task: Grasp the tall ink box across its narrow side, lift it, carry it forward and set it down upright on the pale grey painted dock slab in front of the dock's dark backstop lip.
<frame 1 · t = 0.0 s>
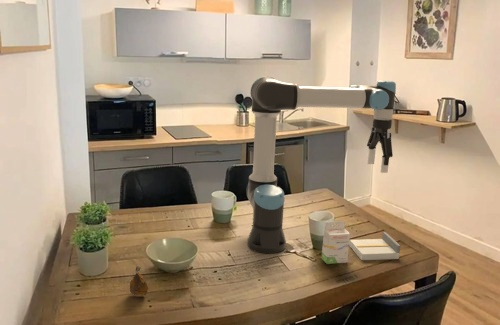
hand: (377, 168, 200), 28 cm above the table, fingers open, 13 cm apart
ink box: (334, 261, 176), on the table
brown pointed lump: (136, 295, 148), on the table
dock: (373, 252, 185), on the table
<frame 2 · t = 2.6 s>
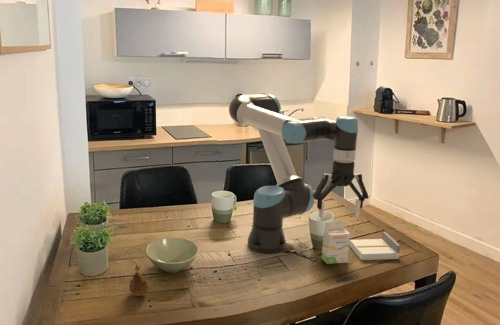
hand: (339, 217, 171), 17 cm above the table, fingers open, 13 cm apart
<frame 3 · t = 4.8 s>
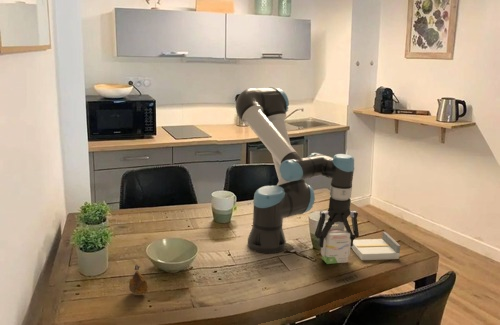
hand: (334, 254, 175), 2 cm above the table, fingers closed on ink box, 9 cm apart
ink box: (334, 261, 176), on the table, touching gripper
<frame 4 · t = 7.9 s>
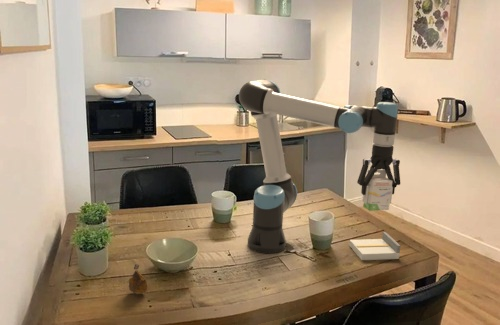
hand: (376, 202, 179), 21 cm above the table, fingers closed on ink box, 9 cm apart
ink box: (376, 209, 180), point 18 cm above the table, touching gripper
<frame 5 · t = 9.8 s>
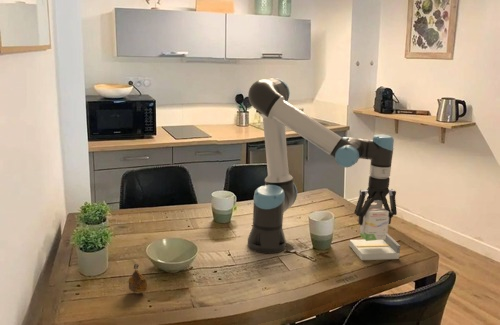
hand: (373, 231, 182), 9 cm above the table, fingers closed on ink box, 9 cm apart
ink box: (373, 238, 183), point 6 cm above the table, touching gripper
when the fingers open (6 cm above the table, at t = 11.3 s): ink box stays where it is, resting on dock.
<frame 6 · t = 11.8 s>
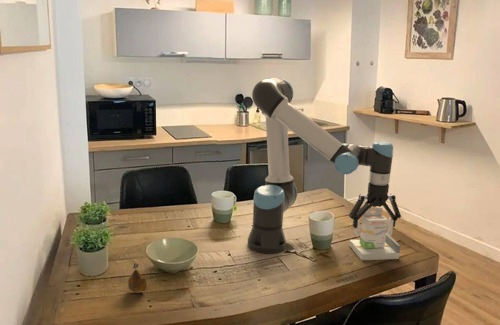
hand: (372, 235, 183), 7 cm above the table, fingers open, 13 cm apart
ink box: (371, 246, 184), point 3 cm above the table, touching dock
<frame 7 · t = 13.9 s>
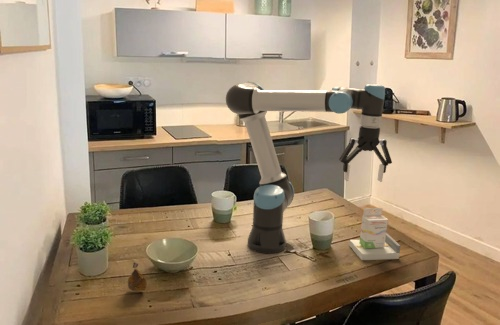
hand: (363, 180, 182), 28 cm above the table, fingers open, 13 cm apart
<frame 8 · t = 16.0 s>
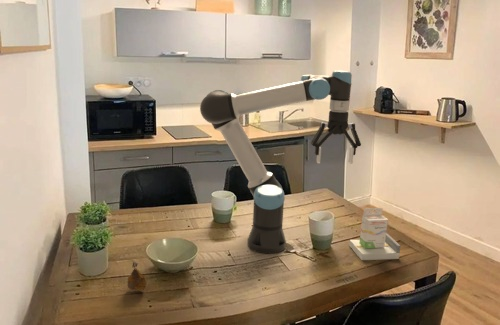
hand: (334, 162, 191), 32 cm above the table, fingers open, 13 cm apart
at the end: ink box inside the target area on the dock (0.4 cm from its centre), point 2.6 cm above the dock's base; ink box tilted 0°; the gripper is holding nothing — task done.
